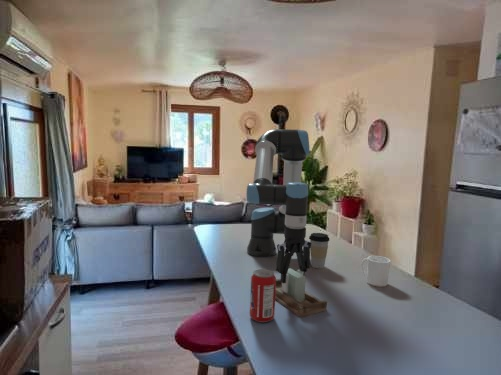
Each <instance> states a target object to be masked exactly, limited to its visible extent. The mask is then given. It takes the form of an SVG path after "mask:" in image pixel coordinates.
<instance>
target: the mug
mask: <svg viewBox="0 0 501 375" xmlns="http://www.w3.org/2000/svg"><path fill="white" fill-rule="evenodd" d="M365 261H367V262H366V270H365V265H364V264H365ZM390 266H391V259H389V258H388V257H385V256H380V255H370V256H367V258H366V257H365V258H363V259H362V260H361V267H362V268H361V269H362V272H363V274H364V276H365V277H366V282H367V284H368V285H370V286H372V287H378V288H384V287H387V286H388V282H389V277H390V276H389V274H390V268H391V267H390Z"/></svg>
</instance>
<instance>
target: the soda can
mask: <svg viewBox="0 0 501 375" xmlns="http://www.w3.org/2000/svg"><path fill="white" fill-rule="evenodd" d="M276 279H277V277H276V276H275V272H274V271H272V270H271V269H265V268H264V269H263V268H261V269H256V270H253V273H252V275H251V276H250V296H249V297H250V299H249V316H250V318H251V319H252V320H253V321H256V322H258V323H268V322H270V321H272V320H273V319H274V318H275V314H276V313H275V311H276V300H275V292H276Z"/></svg>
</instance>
